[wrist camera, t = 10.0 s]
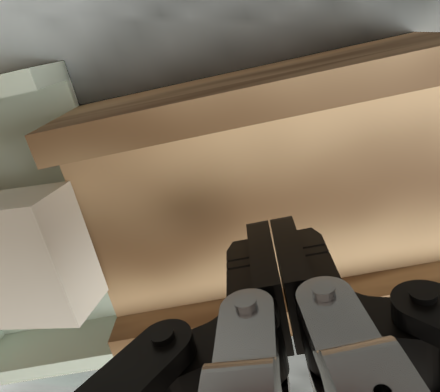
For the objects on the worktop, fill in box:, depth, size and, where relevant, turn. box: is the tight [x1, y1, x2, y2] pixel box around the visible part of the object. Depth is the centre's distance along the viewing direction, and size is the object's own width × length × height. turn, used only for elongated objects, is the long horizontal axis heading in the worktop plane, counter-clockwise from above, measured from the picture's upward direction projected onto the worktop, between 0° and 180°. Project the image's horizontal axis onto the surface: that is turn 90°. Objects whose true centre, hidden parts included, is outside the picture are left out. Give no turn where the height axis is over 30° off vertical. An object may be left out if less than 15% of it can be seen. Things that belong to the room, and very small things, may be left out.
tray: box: [0, 61, 117, 385], centre depth 19 cm, size 14×9×4 cm, turn 12°
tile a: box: [0, 181, 109, 330], centre depth 16 cm, size 5×5×2 cm
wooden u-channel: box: [25, 32, 440, 357], centre depth 17 cm, size 10×15×6 cm, turn 102°
